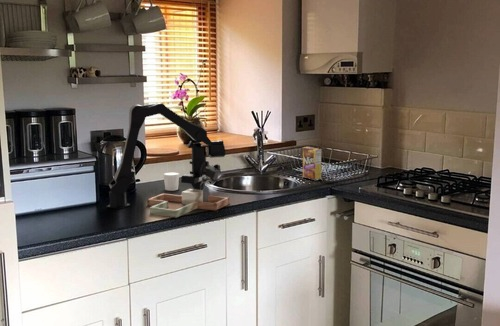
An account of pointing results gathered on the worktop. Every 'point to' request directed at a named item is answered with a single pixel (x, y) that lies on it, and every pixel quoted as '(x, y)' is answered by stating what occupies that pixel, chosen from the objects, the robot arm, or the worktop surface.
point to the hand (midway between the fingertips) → (199, 196)
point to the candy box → (311, 162)
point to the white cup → (171, 181)
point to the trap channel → (160, 206)
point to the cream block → (192, 196)
